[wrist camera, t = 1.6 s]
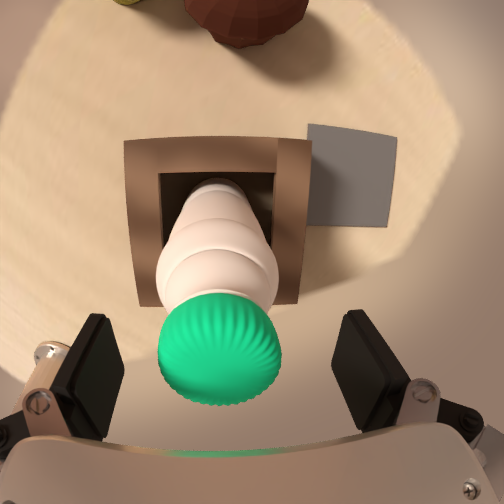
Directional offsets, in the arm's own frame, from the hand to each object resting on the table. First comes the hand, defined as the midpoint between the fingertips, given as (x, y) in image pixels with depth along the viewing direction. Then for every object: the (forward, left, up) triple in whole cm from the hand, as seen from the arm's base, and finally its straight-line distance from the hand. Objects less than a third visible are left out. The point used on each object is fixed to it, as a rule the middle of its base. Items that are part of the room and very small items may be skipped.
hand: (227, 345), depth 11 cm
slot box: (0, 0, -24) cm, 24 cm away
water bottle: (0, 0, -24) cm, 24 cm away
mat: (+4, -16, -24) cm, 29 cm away
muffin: (+23, -2, -24) cm, 33 cm away
